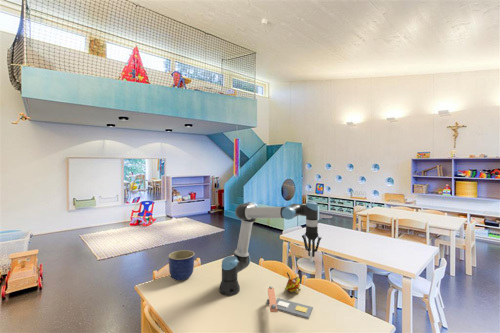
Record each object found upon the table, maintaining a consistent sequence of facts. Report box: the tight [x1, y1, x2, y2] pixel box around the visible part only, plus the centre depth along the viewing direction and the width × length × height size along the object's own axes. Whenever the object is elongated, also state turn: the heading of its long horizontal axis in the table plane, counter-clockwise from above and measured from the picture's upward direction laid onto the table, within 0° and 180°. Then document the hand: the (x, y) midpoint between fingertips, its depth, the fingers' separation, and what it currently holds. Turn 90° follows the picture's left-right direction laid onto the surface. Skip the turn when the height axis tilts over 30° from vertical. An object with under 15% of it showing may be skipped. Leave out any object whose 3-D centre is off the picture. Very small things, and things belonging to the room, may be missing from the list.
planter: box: [168, 249, 196, 282], centre depth 202 cm, size 21×21×19 cm
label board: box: [276, 297, 314, 319], centre depth 161 cm, size 24×12×1 cm, turn 64°
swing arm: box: [267, 286, 278, 313], centre depth 155 cm, size 26×4×10 cm, turn 179°
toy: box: [284, 272, 301, 295], centre depth 183 cm, size 14×10×15 cm
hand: (311, 261), depth 164 cm, fingers closed
